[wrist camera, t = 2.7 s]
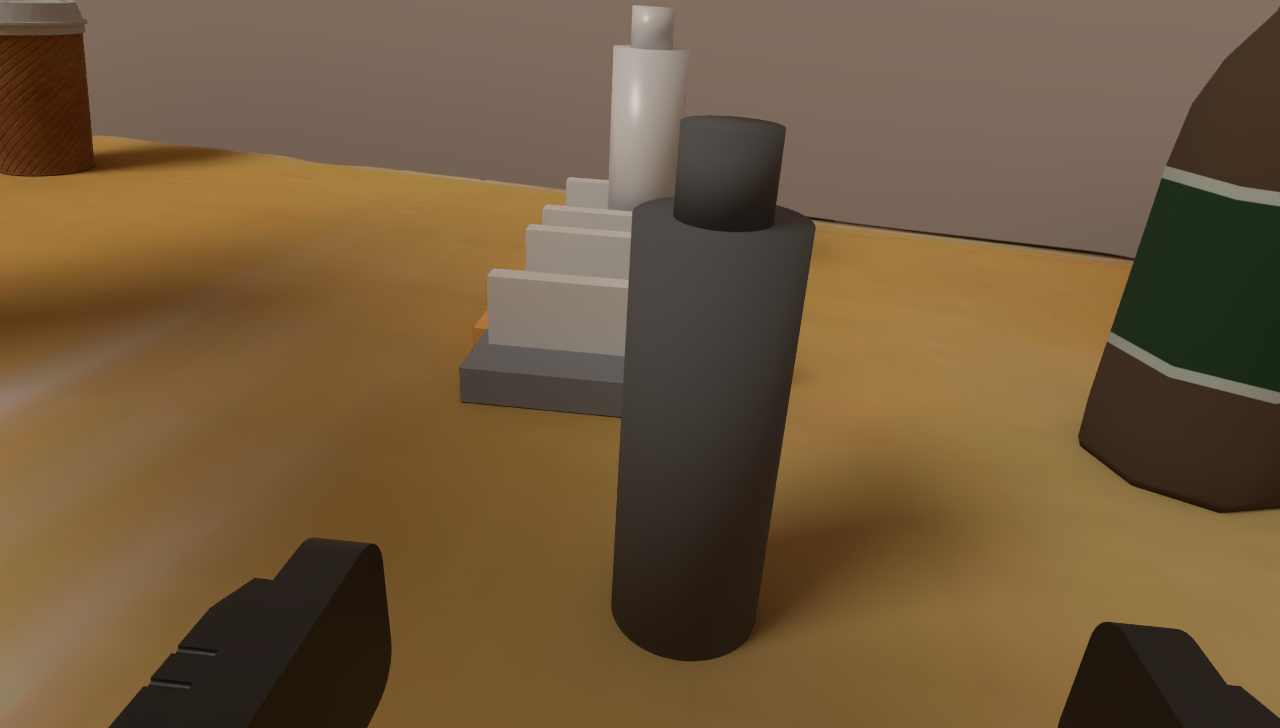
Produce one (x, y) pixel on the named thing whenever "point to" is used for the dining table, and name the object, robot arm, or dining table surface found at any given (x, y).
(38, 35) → the disposable coffee cup
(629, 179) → the white bottle
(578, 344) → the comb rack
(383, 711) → the dining table surface
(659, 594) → the dark grey bottle
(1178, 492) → the beer bottle
